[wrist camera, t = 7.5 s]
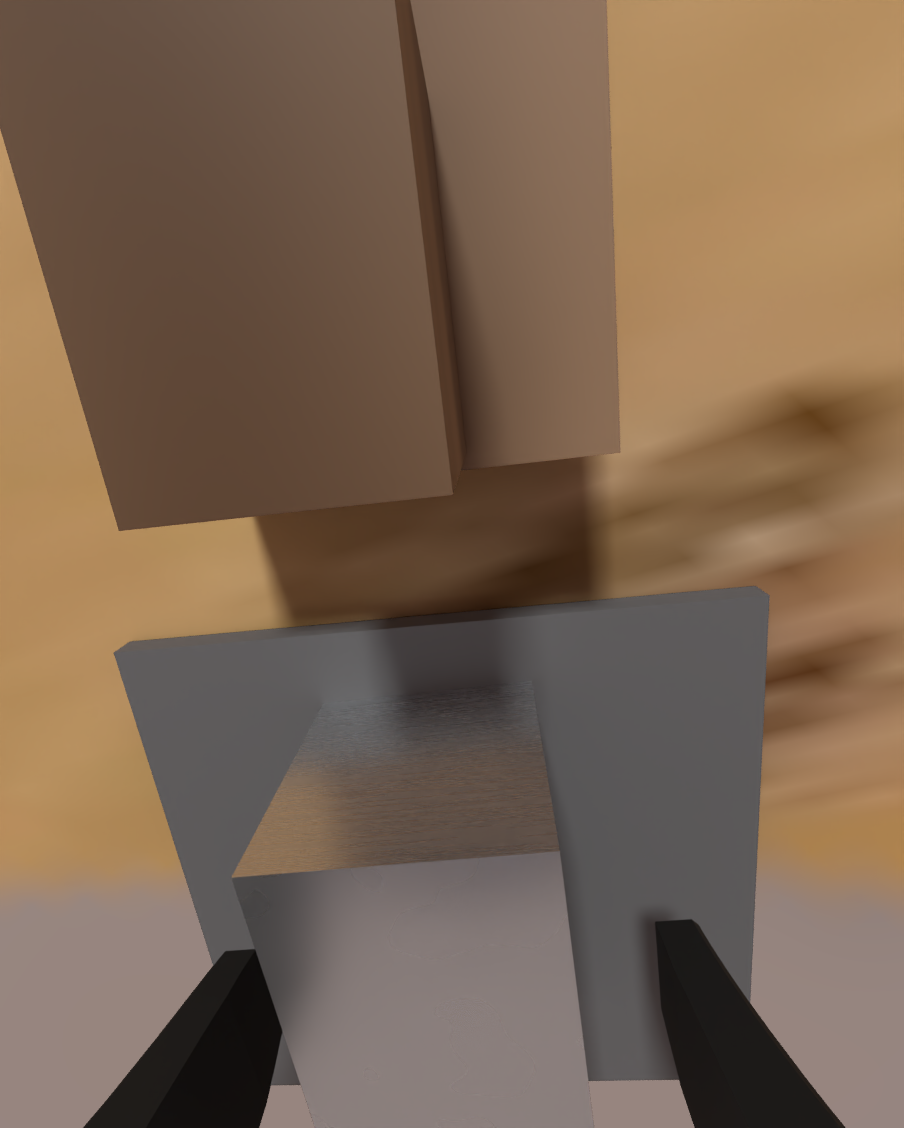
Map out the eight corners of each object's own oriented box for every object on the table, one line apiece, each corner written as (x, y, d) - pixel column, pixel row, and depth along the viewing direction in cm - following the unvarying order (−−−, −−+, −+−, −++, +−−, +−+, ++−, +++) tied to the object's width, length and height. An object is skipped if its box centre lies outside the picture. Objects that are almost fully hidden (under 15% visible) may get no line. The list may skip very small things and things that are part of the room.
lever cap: (531, 680, 10) (559, 851, 6) (572, 997, 12) (611, 1264, 9) (322, 704, 11) (231, 878, 7) (398, 1007, 13) (361, 1267, 9)
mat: (755, 586, 10) (769, 595, 9) (736, 1053, 13) (746, 1078, 13) (129, 641, 11) (113, 653, 10) (259, 1062, 14) (251, 1085, 14)
